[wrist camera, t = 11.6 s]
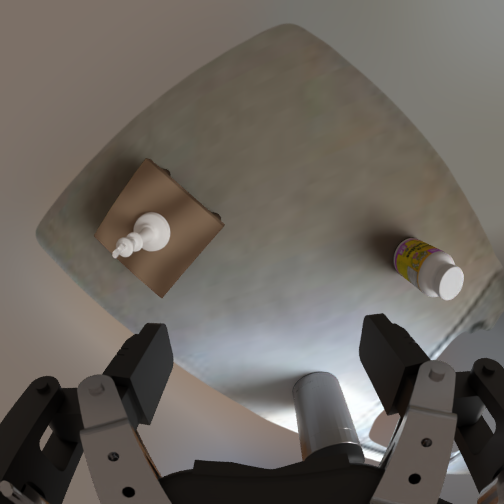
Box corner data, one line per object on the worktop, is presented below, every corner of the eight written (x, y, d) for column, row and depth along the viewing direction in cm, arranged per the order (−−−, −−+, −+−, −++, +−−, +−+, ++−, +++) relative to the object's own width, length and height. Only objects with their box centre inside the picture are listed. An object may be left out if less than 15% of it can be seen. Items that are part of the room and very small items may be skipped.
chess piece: (178, 232, 33) (147, 254, 23) (153, 258, 34) (119, 287, 24) (151, 204, 32) (112, 215, 22) (128, 231, 33) (86, 251, 23)
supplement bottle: (420, 231, 39) (467, 251, 27) (425, 266, 41) (469, 294, 28) (388, 245, 40) (431, 271, 28) (395, 281, 42) (435, 315, 29)
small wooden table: (229, 218, 39) (223, 226, 33) (175, 280, 42) (161, 298, 35) (163, 161, 37) (145, 158, 30) (116, 226, 40) (93, 235, 33)
